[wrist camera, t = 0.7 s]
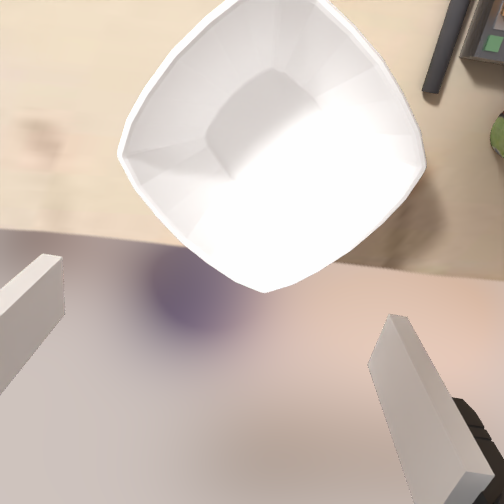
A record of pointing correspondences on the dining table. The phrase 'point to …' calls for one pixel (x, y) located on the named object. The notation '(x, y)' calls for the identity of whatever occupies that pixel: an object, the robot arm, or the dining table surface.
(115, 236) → the dining table surface
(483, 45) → the breaker strip
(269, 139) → the bowl
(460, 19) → the dark gray rod
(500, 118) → the beverage can
